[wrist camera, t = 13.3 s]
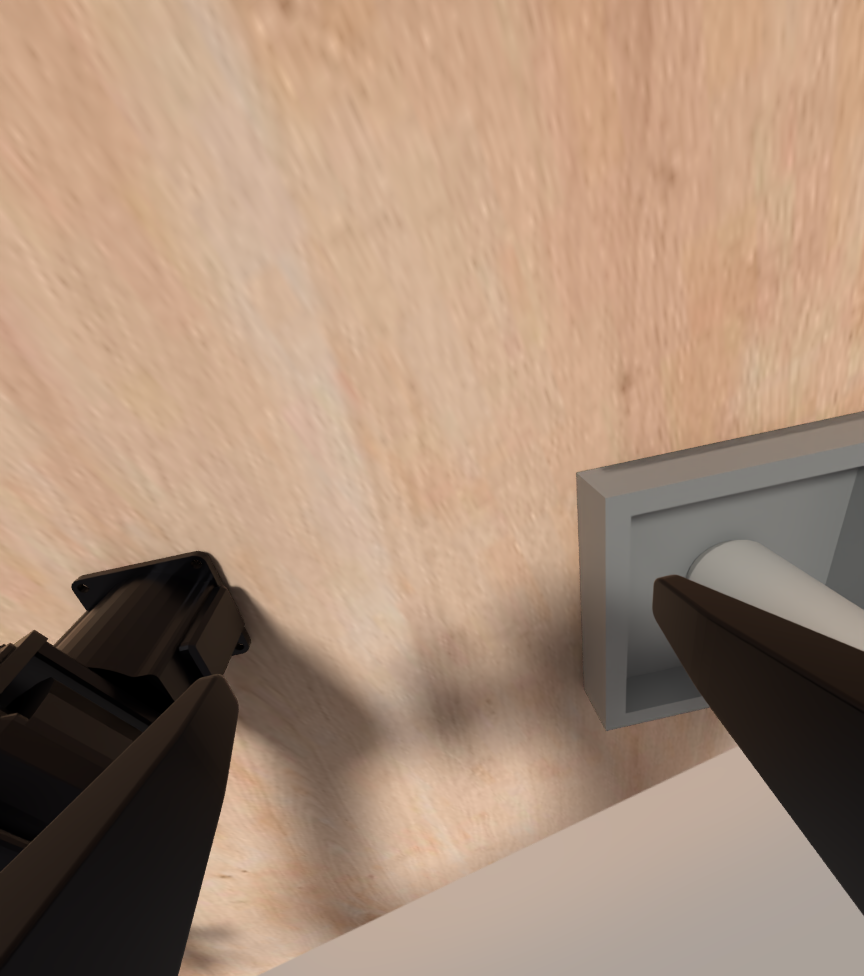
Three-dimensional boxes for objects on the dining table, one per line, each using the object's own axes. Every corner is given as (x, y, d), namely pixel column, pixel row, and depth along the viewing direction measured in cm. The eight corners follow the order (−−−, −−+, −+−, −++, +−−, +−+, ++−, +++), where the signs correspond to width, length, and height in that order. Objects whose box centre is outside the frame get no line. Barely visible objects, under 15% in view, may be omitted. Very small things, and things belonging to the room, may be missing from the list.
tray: (583, 688, 27) (605, 731, 25) (576, 472, 21) (605, 498, 18) (812, 637, 28) (858, 673, 25) (878, 408, 21) (951, 423, 18)
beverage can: (776, 562, 24) (1111, 784, 13) (708, 616, 25) (961, 861, 14) (733, 518, 22) (1077, 729, 11) (663, 578, 23) (910, 821, 12)
